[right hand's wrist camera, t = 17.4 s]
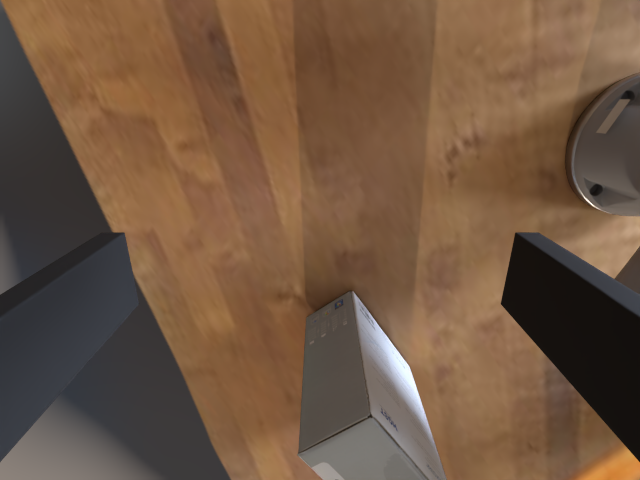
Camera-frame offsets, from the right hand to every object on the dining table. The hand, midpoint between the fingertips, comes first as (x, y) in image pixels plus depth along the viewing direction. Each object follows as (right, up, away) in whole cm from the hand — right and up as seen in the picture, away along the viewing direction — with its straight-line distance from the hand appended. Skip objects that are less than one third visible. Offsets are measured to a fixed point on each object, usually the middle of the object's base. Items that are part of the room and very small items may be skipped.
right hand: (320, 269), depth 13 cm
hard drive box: (+5, -13, +38) cm, 40 cm away
